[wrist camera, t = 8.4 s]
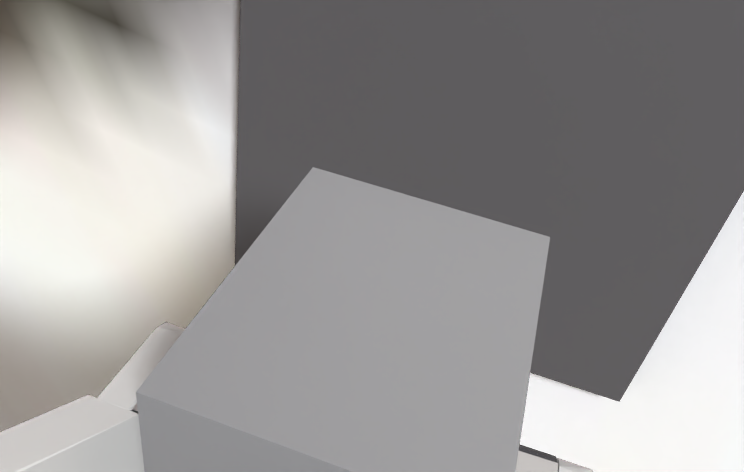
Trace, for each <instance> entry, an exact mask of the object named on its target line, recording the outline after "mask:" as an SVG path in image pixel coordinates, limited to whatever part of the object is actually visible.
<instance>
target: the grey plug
mask: <svg viewBox="0 0 744 472" xmlns="http://www.w3.org/2000/svg"><path fill="white" fill-rule="evenodd" d="M549 242H550V237H548V236H545V235H542V234H538V233H535V232H531V231H528V230H525V229H521V228H518V227H514V226H511V225H508V224H504V223H501V222H498V221H494V220H491V219H487V218H484V217H481V216H477V215H474V214H470V213H467V212H464V211H460V210H457V209H453V208H450V207H447V206H443V205H440V204H437V203H433V202H430V201H426V200H423V199H420V198H416V197H413V196H409V195H406V194H403V193H399V192H396V191H392V190H389V189H386V188H382V187H379V186H375V185H372V184H369V183H365V182H362V181H359V180H355V179H352V178H348V177H345V176H342V175H338V174H335V173H331V172H328V171H325V170H321V169H318V168H314V167H313V168H312V169H311V170H310V172H309V173H308V174H307V175H306V177H305V178H304V179H303V180H302V182H301V183H300V184H299V185H298V187H297V188H296V189H295V191H294V192H293V193H292V194H291V196H290V197H289V198H288V199H287V201H286V202H285V203H284V205H283V206H282V207H281V208H280V210H279V211H278V212H277V213H276V215H275V216H274V217H273V218H272V220H271V221H270V222H269V224H268V225H267V226H266V227H265V229H264V230H263V231H262V232H261V234H260V235H259V236H258V238H257V239H256V240H255V241H254V243H253V244H252V245H251V246H250V248H249V249H248V250H247V251H246V253H245V254H244V255H243V257H242V258H241V259H240V260H239V262H238V263H237V264H236V265H235V267H234V268H233V269H232V271H231V272H230V273H229V274H228V276H227V277H226V278H225V279H224V281H223V282H222V283H221V284H220V286H219V287H218V288H217V290H216V291H215V292H214V293H213V295H212V296H211V297H210V298H209V300H208V301H207V302H206V304H205V305H204V306H203V307H202V309H201V310H200V311H199V312H198V314H197V315H196V316H195V317H194V319H193V320H192V321H191V323H190V324H189V325H188V326H187V328H186V329H185V330H184V331H183V333H182V334H181V335H180V337H179V338H178V339H177V340H176V342H175V343H174V344H173V345H172V347H171V348H170V349H169V350H168V352H167V353H166V354H165V356H164V357H163V358H162V359H161V361H160V362H159V363H158V364H157V366H156V367H155V368H154V370H153V371H152V372H151V373H150V375H149V376H148V377H147V378H146V380H145V381H144V382H143V384H142V385H141V386H140V387H139V389H138V390H137V391H136V399H137V408H138V417H139V426H140V435H141V444H142V453H143V462H144V471H145V472H515V471H516V464H517V458H518V451H519V444H520V437H521V431H522V424H523V417H524V410H525V404H526V397H527V390H528V383H529V377H530V370H531V363H532V356H533V350H534V343H535V336H536V329H537V323H538V316H539V309H540V302H541V296H542V289H543V282H544V275H545V269H546V262H547V255H548V248H549Z"/></svg>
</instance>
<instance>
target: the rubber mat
mask: <svg viewBox="0 0 744 472" xmlns="http://www.w3.org/2000/svg"><path fill="white" fill-rule="evenodd" d="M313 167H314V168H318V169H321V170H325V171H328V172H331V173H335V174H338V175H342V176H345V177H348V178H352V179H355V180H359V181H362V182H365V183H369V184H372V185H375V186H379V187H382V188H386V189H389V190H392V191H396V192H399V193H403V194H406V195H409V196H413V197H416V198H420V199H423V200H426V201H430V202H433V203H437V204H440V205H443V206H447V207H450V208H453V209H457V210H460V211H464V212H467V213H470V214H474V215H477V216H481V217H484V218H487V219H491V220H494V221H498V222H501V223H504V224H508V225H511V226H514V227H518V228H521V229H525V230H528V231H531V232H535V233H538V234H542V235H545V236H548V237H550V242H549V248H548V255H547V262H546V269H545V275H544V282H543V289H542V296H541V302H540V309H539V316H538V323H537V329H536V336H535V343H534V350H533V356H532V363H531V370H530V372H531V373H534V374H537V375H540V376H543V377H546V378H549V379H552V380H555V381H558V382H561V383H564V384H567V385H570V386H573V387H576V388H579V389H582V390H585V391H588V392H592V393H595V394H598V395H601V396H604V397H607V398H610V399H613V400H616V401H620V400H621V398H622V396H623V395H624V393H625V391H626V389H627V388H628V386H629V384H630V383H631V381H632V379H633V378H634V376H635V374H636V372H637V371H638V369H639V367H640V366H641V364H642V362H643V361H644V359H645V357H646V356H647V354H648V352H649V350H650V349H651V347H652V345H653V344H654V342H655V340H656V339H657V337H658V335H659V333H660V332H661V330H662V328H663V327H664V325H665V323H666V322H667V320H668V318H669V317H670V315H671V313H672V311H673V310H674V308H675V306H676V305H677V303H678V301H679V300H680V298H681V296H682V294H683V293H684V291H685V289H686V288H687V286H688V284H689V283H690V281H691V279H692V278H693V276H694V274H695V272H696V271H697V269H698V267H699V266H700V264H701V262H702V261H703V259H704V257H705V255H706V254H707V252H708V250H709V249H710V247H711V245H712V244H713V242H714V240H715V239H716V237H717V235H718V233H719V232H720V230H721V228H722V227H723V225H724V223H725V222H726V220H727V218H728V217H729V215H730V213H731V211H732V210H733V208H734V206H735V205H736V203H737V201H738V200H739V198H740V196H741V194H742V193H743V191H744V0H241V8H240V55H239V102H238V149H237V197H236V244H235V265H236V264H237V263H238V262H239V260H240V259H241V258H242V257H243V255H244V254H245V253H246V251H247V250H248V249H249V248H250V246H251V245H252V244H253V243H254V241H255V240H256V239H257V238H258V236H259V235H260V234H261V232H262V231H263V230H264V229H265V227H266V226H267V225H268V224H269V222H270V221H271V220H272V218H273V217H274V216H275V215H276V213H277V212H278V211H279V210H280V208H281V207H282V206H283V205H284V203H285V202H286V201H287V199H288V198H289V197H290V196H291V194H292V193H293V192H294V191H295V189H296V188H297V187H298V185H299V184H300V183H301V182H302V180H303V179H304V178H305V177H306V175H307V174H308V173H309V172H310V170H311V169H312V168H313Z"/></svg>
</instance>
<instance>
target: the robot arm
mask: <svg viewBox="0 0 744 472" xmlns="http://www.w3.org/2000/svg"><path fill="white" fill-rule="evenodd" d="M184 330H185V328H182V327H179V326H176V325H173V324H171V323H168V322H165V323H164V324H162V325H160V326H159V327H157V328H156V329H155V330H154V331H153V332H152V333H151V334H150V336H149V337H148V338H147V339H146V340H145V342H144V343H143V344H142V345H141V346H140V347H139V349H138V350H137V351H136V352H135V353H134V354H133V356H132V357H131V358H130V359H129V360H128V362H127V363H126V364H125V365H124V366H123V367H122V369H121V370H120V371H119V372H118V373H117V374H116V376H115V377H114V378H113V379H112V380H111V382H110V383H109V384H108V385H107V386H106V387H105V389H104V390H103V391H102V392H101V393H100V394H99V396H98V397H97V398H96V397H93V396H90V395H86V396H84V397H81V398H79V399H77V400H74V401H72V402H70V403H67V404H65V405H63V406H60V407H58V408H56V409H53V410H51V411H48V412H46V413H44V414H41V415H39V416H37V417H34V418H32V419H30V420H27V421H25V422H23V423H20V424H18V425H16V426H13V427H11V428H8V429H6V430H4V431H1V432H0V472H145V471H144V462H143V453H142V444H141V435H140V426H139V417H138V408H137V399H136V391H137V390H138V389H139V387H140V386H141V385H142V384H143V382H144V381H145V380H146V378H147V377H148V376H149V375H150V373H151V372H152V371H153V370H154V368H155V367H156V366H157V364H158V363H159V362H160V361H161V359H162V358H163V357H164V356H165V354H166V353H167V352H168V350H169V349H170V348H171V347H172V345H173V344H174V343H175V342H176V340H177V339H178V338H179V337H180V335H181V334H182V333H183V331H184ZM515 472H593V470H591V469H588V468H585V467H583V466H580V465H577V464H574V463H571V462H568V461H565V460H562V459H559V458H556V457H555V456H553V455H550V454H547V453H544V452H541V451H538V450H535V449H532V448H529V447H526V446H523V445H520V444H519V451H518V458H517V464H516V471H515Z"/></svg>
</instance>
